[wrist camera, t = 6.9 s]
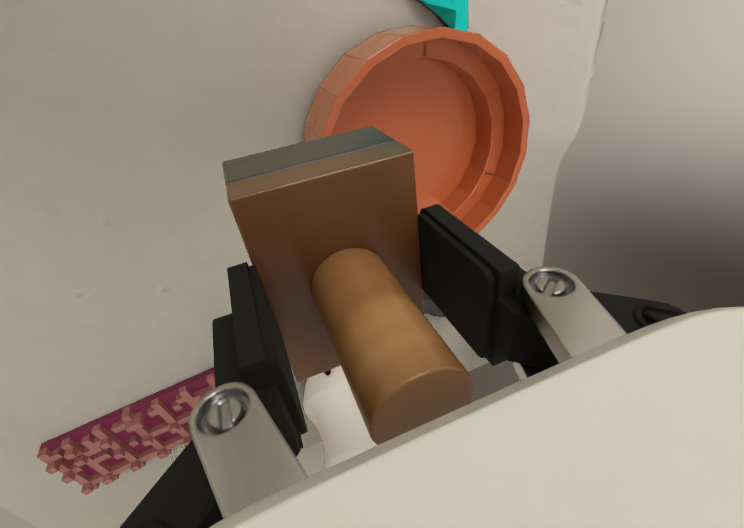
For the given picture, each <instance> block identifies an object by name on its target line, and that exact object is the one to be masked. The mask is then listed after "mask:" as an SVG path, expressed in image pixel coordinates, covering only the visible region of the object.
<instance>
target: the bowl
mask: <svg viewBox="0 0 744 528" xmlns="http://www.w3.org/2000/svg"><path fill="white" fill-rule="evenodd" d="M369 126H373V127H374V128H376V129H378V130H379V131H381V132H383V133H384V134H386V135H388V136H389V137H391V138H393V139H394V140H395V141H398V142H399V143H401V144H403V145H404V146H406V147H408V148H409V149H411V150H413V152H414V163H415V178H416V194H417V209H418V214H420V210H421V209H422V208H426V207H429V206H432V205H436V204H439V205H441V206H442V207H443V208H445V209H446V210H447V211H448V212H450V213H451V214H452V215H454V216H455V217H456V218H458V219H459V220H460V221H462V222H463V223H464V224H466V225H467V226H468V227H470V228H471V229H472V230H473V231H475V232H476V233H477V234H478V233H479V232H480V231H481V230H482V229H483V228H484V227H485V226H486V225H487V224H488V223H489V222H490V221H491V219H492V218H493V217H494V216H495V215H496V214H497V213H498V212H499V210H500V208H501V207H502V205H503V203H504V202H505V200H506V198H507V197H508V195H509V194H510V192H511V190H512V189H513V187H514V184H515V183H516V180H517V177H518V174H519V172H520V169H521V166H522V163H523V160H524V157H525V154H526V148H527V138H528V127H529V113H528V107H527V102H526V96H525V91H524V85H523V83H522V81H521V80H520V78H519V76H518V74H517V73H516V71H515V69H514V67H513V66H512V64H511V62H510V60H509V59H508V57H507V55H506V54H505V53H503V52H502V51H501V50H499V49H498V48H497V47H495V46H494V45H493V44H491V43H490V42H489V41H488V40H486V39H485V38H484V37H482V36H481V35H479V34H477V33H472V32H467V31H462V30H458V29H453V28H448V27H439V26H414V25H413V26H407V27H402V28H397V29H393V30H388V31H383V32H379V33H376V34H374V35H373V36H371V37H370V38H368V39H367V40H365V41H364V42H362V43H361V44H359V45H358V46H356V47H355V48H353V49H352V50H350V51H348V52H347V53H345V54H344V55H343V56H342V58H341V59H340V60H339V62H338V63H337V64H336V65H335V67H334V68H333V69H332V71H331V72H330V73H329V74H328V76H327V77H326V78H325V80H324V81H323V82H322V83H321V85H320V86H319V88H318V90H317V93H316V96H315V98H314V101H313V104H312V106H311V109H310V112H309V114H308V117H307V120H306V122H305V129H304V142H307V141H311V140H315V139H319V138H323V137H328V136H332V135H336V134H340V133H344V132H348V131H352V130H357V129H361V128H365V127H369Z"/></svg>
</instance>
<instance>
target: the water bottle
mask: <svg viewBox="0 0 744 528" xmlns="http://www.w3.org/2000/svg"><path fill="white" fill-rule="evenodd" d="M303 407H304V411H305V414H306V416H307V417H308V418H309V419H310V420H311V421H312V423H313V424H314V425H315V427H316V428H317V430H318V431H319V433H320V435H321V438H322V441H323V445H324V452H325V460H324V461H325V463H324V470H325V469H327V468H329V467H331V466H333V465H336V464H338V463H340V462H342V461H344V460H347V459H349V458H351V457H353V456H355V455H358V454H360V453H362V452H364V451H366V450H369V449H371V448H373V447H375V446H377V444H376V443H374V442H373V440H372V439H371V437H370V435H369V433H368V430H367V428H366V425H365V423H364V420H363V418H362V416H361V413H360V411H359V408H358V406H357V403H356V401H355V399H354V396H353V394H352V391H351V389H350V386H349V384H348V382H347V379H346V377H345V374H344V372H343V369H342V367H341V366H338V367H335V368H333V369H331V373H330V375H326V374H325V373H324V372H323V373H320V374H317V375H315V376H312V377H310V378H308V379H307V381H306V385H305V391H304V400H303Z"/></svg>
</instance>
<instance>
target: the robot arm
mask: <svg viewBox="0 0 744 528" xmlns="http://www.w3.org/2000/svg"><path fill="white" fill-rule="evenodd" d="M418 224H419V239H420V255H421V270H422V285H423V290H424V291H425V293H426V294H427V295H428V296H429V297H430V299H431V300H432V301H433V302H434V303H435V305H436V306H437V307H438V308H439V309H440V311H441V312H442V313H443V314H444V315H445V317H446V318H447V319H448V320H449V321H450V323H451V324H452V325H453V326H454V327H455V329H456V330H457V331H458V332H459V333H460V335H461V336H462V337H463V338H464V339H465V341H466V342H467V343H468V344H469V345H470V347H471V348H472V349H473V350H474V351H475V353H476V354H477V355H478V356H479V357H481V358H484V357H485V358H486V359H487V360H488V361H489V362H490V363H491V365H492V366H494V365H496V364H498V363H501V362H503V361H506V360H508V361H512V363H513V366H514V369H515V371H516V373H517V375H518V377H519V379H520V381H519V382H517V383H515V384H512V385H510V386H508V387H506V388H504V389H501V390H499V391H497V392H495V393H492V394H490V395H488V396H486V397H483V398H481V399H479V400H477V401H474V402H472V403H470V404H468V405H466V406H463V407H461V408H459V409H457V410H454V411H452V412H450V413H448V414H446V415H443V416H441V417H439V418H437V419H435V420H432V421H430V422H428V423H426V424H423V425H421V426H419V427H417V428H415V429H412V430H410V431H408V432H406V433H404V434H401V435H399V436H397V437H395V438H393V439H390V440H388V441H386V442H384V443H382V444H380V445H377V446H375V447H373V448H371V449H369V450H366V451H364V452H362V453H360V454H358V455H355V456H353V457H351V458H349V459H347V460H344V461H342V462H340V463H338V464H336V465H333V466H331V467H329V468H327V469H325V470H323V471H321V472H318V473H316V474H314V475H312V476H310V477H308V476H307V474H306V472H305V471H304V469H303V468H302V466H301V464H300V463H299V461H298V460H297V458H296V457H297V455H298V453H299V452H300V449H301V448H303V444H302V440H301V436H300V435H301V434H304V433H306V432H307V427H306V423H305V419H304V416H303V412H302V408H301V404H300V400H299V397H298V393H297V389H296V385H295V382H294V378H293V374H292V370H291V366H290V363H289V359H288V355H287V351H286V348H285V344H284V340H283V338H282V335H281V332H280V330H279V327H278V324H277V322H276V319H275V316H274V314H273V311H272V308H271V306H270V303H269V300H268V298H267V295H266V293H265V290H264V287H263V285H262V282H261V279H260V277H259V274H258V271H257V269H256V266H255V265H254V266H253V265H252V266H248V264H247V262H245V263H242V264H239V265H236V266H232V267H229V268H227V271H228V280H229V289H230V298H231V307H232V314H229V315H226V316H223V317H220V318H217V319H214V320H213V348H214V371H215V388H214V389H212V390H211V391H209V392H208V393H207V394H205V395H204V396H203V397H202V398H201V399H200V400H199V401H198V402H197V403H196V405H195V406H194V408H193V410H192V412H191V413H190V417H189V422H188V425H189V432H190V434H191V437H192V440H191V441H190V443H189V444H188V445H187V446H186V447H185V449H184V450H183V451H182V452H181V454H180V455H179V456H178V457H177V458H176V460H175V461H174V462H173V463H172V465H171V466H170V467H169V468H168V469H167V471H166V472H165V473H164V474H163V475H162V477H161V478H160V479H159V480H158V482H157V483H156V484H155V485H154V486H153V488H152V489H151V490H150V491H149V493H148V494H147V495H146V496H145V497H144V499H143V500H142V501H141V502H140V504H139V505H138V506H137V507H136V508H135V510H134V511H133V512H132V513H131V514H130V516H129V517H128V518H127V519H126V521H125V522H124V523H123V524H122V525H121V527H120V528H744V307H728V308H714V309H708V310H703V311H697V312H690V313H686V312H684V311H682V310H680V309H679V308H677V307H675V306H672V305H670V304H666V303H662V302H658V301H652V300H645V299H638V298H631V297H625V296H617V295H611V294H605V293H598V292H591V291H589V290H588V289H587V288H586V287H585V285H584V284H583V283H582V282H581V281H580V280H579V279H578V278H577V277H576V276H575V275H574V274H572V273H570V272H568V271H566V270H563V269H559V268H555V267H538V268H534V269H531V270H529V271H528V272H525V271H524V270H523V269H521V268H520V267H519V265H518V264H517V263H516V262H514V261H513V260H512V259H510V258H509V257H508V256H506V255H505V254H504V253H502V252H501V251H500V250H499V249H497V248H496V247H495V246H493V245H492V244H491V243H489V242H488V241H487V240H485V239H484V238H483V237H481V236H480V235H479V234H477V233H476V232H475V231H473V230H472V229H471V228H470V227H468V226H467V225H466V224H464V223H463V222H462V221H460V220H459V219H458V218H456V217H455V216H454V215H452V214H451V213H450V212H448V211H447V210H446V209H445V208H443V207H442V206H441V205H439V204H436V205H432V206H429V207H426V208H422V209H421V210H420V214H418Z"/></svg>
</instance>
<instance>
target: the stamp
mask: <svg viewBox="0 0 744 528" xmlns="http://www.w3.org/2000/svg"><path fill="white" fill-rule="evenodd" d="M222 166H223V172H224V178H225V184H226V191H227V197H228V202H229V205H230V207H231V210H232V213H233V215H234V218H235V221H236V223H237V226H238V228H239V231H240V234H241V236H242V239H243V241H244V244H245V247H246V249H247V252H248V255H249V257H250V260H251V262H252V265H253V266H254V265H255V266H256V269H257V271H258V274H259V277H260V279H261V282H262V285H263V287H264V290H265V293H266V295H267V298H268V300H269V303H270V306H271V308H272V311H273V314H274V316H275V319H276V322H277V324H278V327H279V330H280V332H281V335H282V338H283V340H284V344H285V348H286V351H287V355H288V359H289V362H290V364H291V367H292V370H293V372H294V375H295V377H296V380H297V381H298V382H299V381H302V380H305V379H307V378H310V377H312V376H315V375H317V374H320V373H323V372H325V371H328V370H330V369H333V368H335V367H338V366H341V367H342V369H343V372H344V374H345V377H346V379H347V382H348V384H349V386H350V389H351V391H352V394H353V396H354V399H355V401H356V403H357V406H358V408H359V411H360V413H361V416H362V418H363V420H364V423H365V425H366V428H367V430H368V433H369V435H370V437H371V439H372V440H373V442H374V443H376V444H377V445H380V444H382V443H384V442H386V441H388V440H390V439H393V438H395V437H397V436H399V435H401V434H404V433H406V432H408V431H410V430H412V429H415V428H417V427H419V426H421V425H423V424H426V423H428V422H430V421H432V420H435V419H437V418H439V417H441V416H443V415H446V414H448V413H450V412H452V411H454V410H457V409H459V408H461V407H463V406H466V405H468V404H470V403H471V401H472V398H473V395H474V384H473V380H472V378H471V375H470V374H469V373H468V371H467V370H466V369H465V368H464V366H463V365H462V364H461V362H460V361H459V360H458V358H457V357H456V356H455V355H454V353H453V352H452V351H451V349H450V348H449V347H448V345H447V344H446V343H445V342H444V340H443V339H442V338H441V336H440V335H439V334H438V332H437V331H436V330H435V329H434V327H433V326H432V325H431V323H430V322H429V321H428V319H427V318H426V317H425V316H424V300H423V285H422V270H421V255H420V239H419V224H418V209H417V194H416V178H415V163H414V152H413V150H411V149H409V148H408V147H406V146H404V145H403V144H401V143H399V142H398V141H395V140H394V139H393V138H391V137H389V136H388V135H386V134H384V133H383V132H381V131H379V130H378V129H376V128H374V127H373V126H369V127H365V128H361V129H357V130H352V131H348V132H344V133H340V134H336V135H332V136H328V137H323V138H319V139H315V140H311V141H307V142H303V143H299V144H295V145H290V146H286V147H282V148H278V149H274V150H270V151H266V152H261V153H257V154H253V155H249V156H245V157H241V158H237V159H232V160H228V161H224V162H223V163H222Z"/></svg>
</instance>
